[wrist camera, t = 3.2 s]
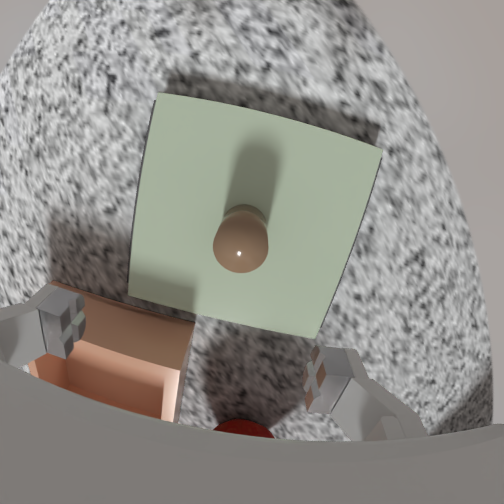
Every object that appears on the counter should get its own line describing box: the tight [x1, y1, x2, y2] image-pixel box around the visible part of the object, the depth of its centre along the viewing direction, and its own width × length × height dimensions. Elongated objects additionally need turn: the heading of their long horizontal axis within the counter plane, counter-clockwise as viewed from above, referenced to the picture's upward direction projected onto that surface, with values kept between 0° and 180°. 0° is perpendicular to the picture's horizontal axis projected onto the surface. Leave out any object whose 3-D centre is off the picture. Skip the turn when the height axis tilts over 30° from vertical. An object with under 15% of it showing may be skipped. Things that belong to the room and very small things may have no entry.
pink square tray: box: [28, 280, 195, 423], centre depth 25 cm, size 14×14×6 cm
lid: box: [128, 92, 383, 339], centre depth 19 cm, size 15×15×5 cm
